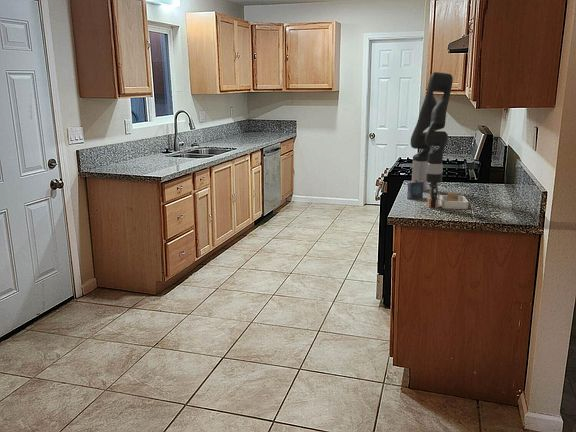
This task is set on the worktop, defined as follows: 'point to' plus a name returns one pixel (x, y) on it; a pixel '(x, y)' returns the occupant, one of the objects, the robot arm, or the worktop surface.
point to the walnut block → (452, 196)
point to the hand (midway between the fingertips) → (432, 206)
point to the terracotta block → (430, 203)
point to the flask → (415, 189)
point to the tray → (453, 203)
